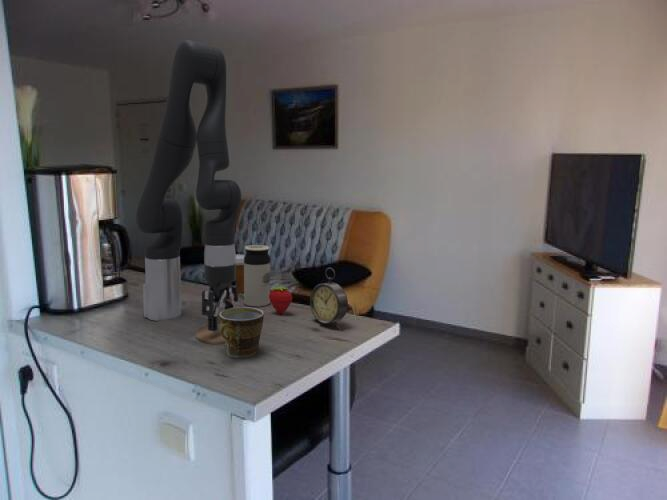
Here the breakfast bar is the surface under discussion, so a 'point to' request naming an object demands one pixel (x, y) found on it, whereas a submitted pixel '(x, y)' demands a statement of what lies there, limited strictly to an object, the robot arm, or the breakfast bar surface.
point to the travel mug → (256, 276)
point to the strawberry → (280, 299)
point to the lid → (211, 334)
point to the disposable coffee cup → (240, 272)
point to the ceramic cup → (241, 330)
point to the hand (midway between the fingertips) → (221, 325)
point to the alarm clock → (328, 302)
